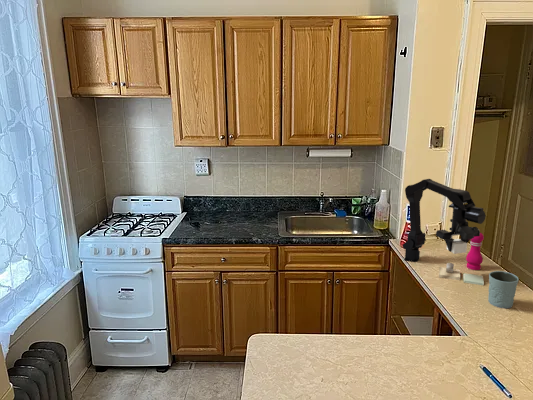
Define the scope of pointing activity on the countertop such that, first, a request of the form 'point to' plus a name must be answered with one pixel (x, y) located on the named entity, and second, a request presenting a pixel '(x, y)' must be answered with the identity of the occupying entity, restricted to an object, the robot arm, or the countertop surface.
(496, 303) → the teal plant pot
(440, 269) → the post base
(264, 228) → the countertop surface
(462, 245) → the white cabinet cube
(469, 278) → the pad
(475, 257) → the pepper mill
